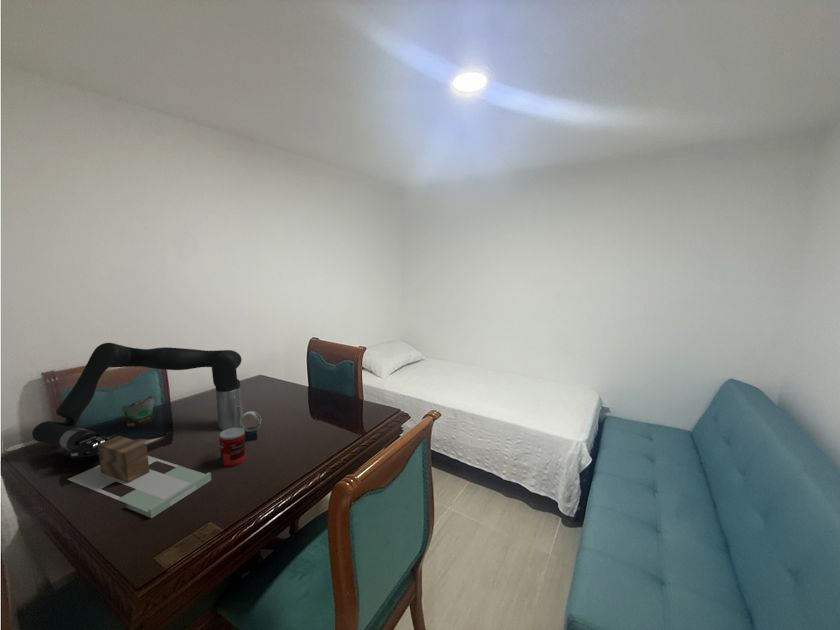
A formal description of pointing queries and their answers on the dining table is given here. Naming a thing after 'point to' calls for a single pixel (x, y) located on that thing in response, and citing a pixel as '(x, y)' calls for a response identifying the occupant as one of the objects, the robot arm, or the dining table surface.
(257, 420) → the watch
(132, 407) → the food container
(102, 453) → the walnut block
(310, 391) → the dining table surface
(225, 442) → the canned food
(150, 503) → the trap lane
